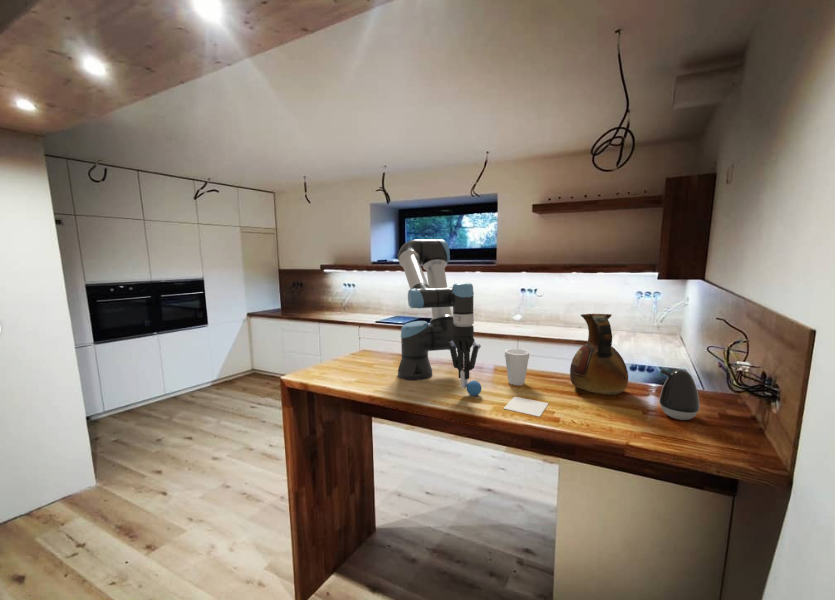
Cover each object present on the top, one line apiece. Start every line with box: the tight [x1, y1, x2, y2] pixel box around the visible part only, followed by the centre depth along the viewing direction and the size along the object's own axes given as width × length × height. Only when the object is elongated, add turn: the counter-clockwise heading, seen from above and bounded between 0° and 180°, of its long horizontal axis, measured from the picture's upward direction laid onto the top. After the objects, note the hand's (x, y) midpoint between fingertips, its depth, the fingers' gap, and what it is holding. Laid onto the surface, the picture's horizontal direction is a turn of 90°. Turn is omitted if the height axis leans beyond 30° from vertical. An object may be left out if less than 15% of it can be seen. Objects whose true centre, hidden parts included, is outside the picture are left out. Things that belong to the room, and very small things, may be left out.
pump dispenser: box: [658, 369, 701, 421], centre depth 111 cm, size 10×10×15 cm
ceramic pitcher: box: [569, 313, 629, 396], centre depth 133 cm, size 20×20×30 cm
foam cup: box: [504, 348, 530, 386], centre depth 143 cm, size 10×9×13 cm
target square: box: [503, 396, 549, 418], centre depth 121 cm, size 12×12×1 cm
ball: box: [466, 380, 482, 397], centre depth 131 cm, size 6×6×6 cm
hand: (464, 387), depth 132 cm, fingers closed
